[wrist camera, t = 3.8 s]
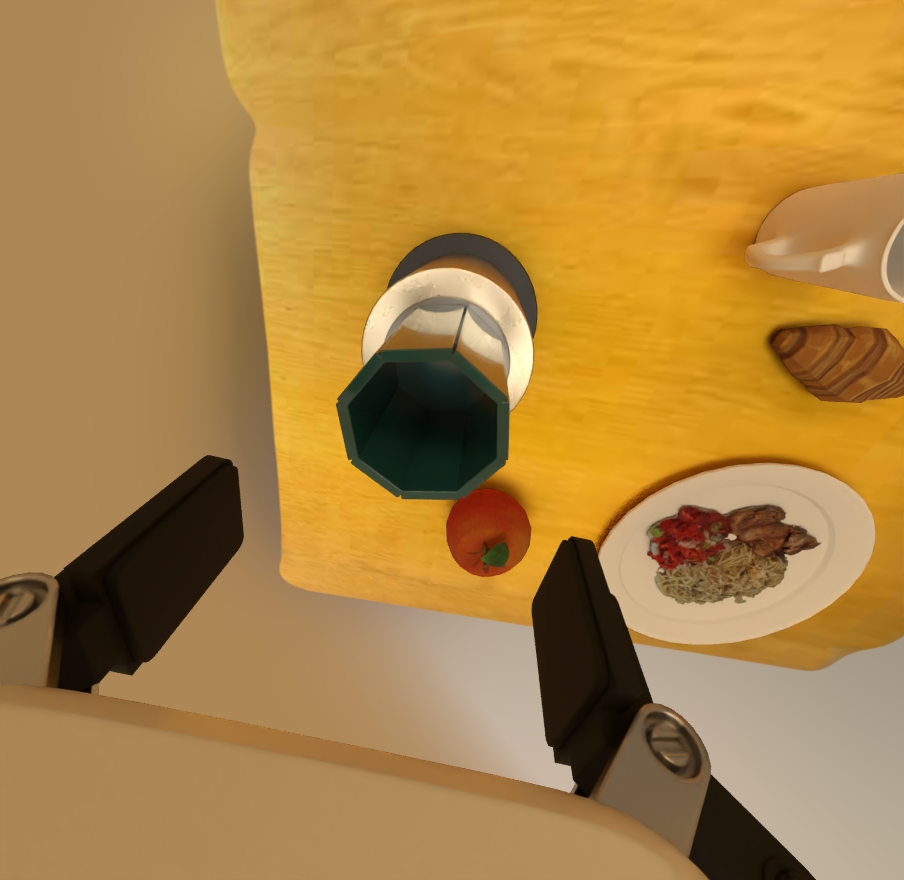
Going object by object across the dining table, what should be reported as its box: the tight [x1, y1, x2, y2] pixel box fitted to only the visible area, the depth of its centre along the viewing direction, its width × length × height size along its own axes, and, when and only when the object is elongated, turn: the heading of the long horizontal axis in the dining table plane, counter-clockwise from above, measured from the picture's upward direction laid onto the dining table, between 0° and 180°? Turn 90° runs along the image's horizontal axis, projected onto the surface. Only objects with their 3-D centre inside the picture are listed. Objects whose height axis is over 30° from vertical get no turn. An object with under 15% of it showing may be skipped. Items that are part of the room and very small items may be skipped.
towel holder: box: [361, 233, 537, 412], centre depth 29 cm, size 14×14×14 cm
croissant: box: [770, 325, 904, 403], centre depth 32 cm, size 14×7×5 cm, turn 72°
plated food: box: [598, 463, 876, 644], centre depth 46 cm, size 30×30×3 cm
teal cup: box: [336, 304, 510, 500], centre depth 19 cm, size 7×7×9 cm
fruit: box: [446, 489, 531, 577], centre depth 42 cm, size 10×10×10 cm
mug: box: [744, 173, 904, 303], centre depth 25 cm, size 10×7×12 cm, turn 104°
